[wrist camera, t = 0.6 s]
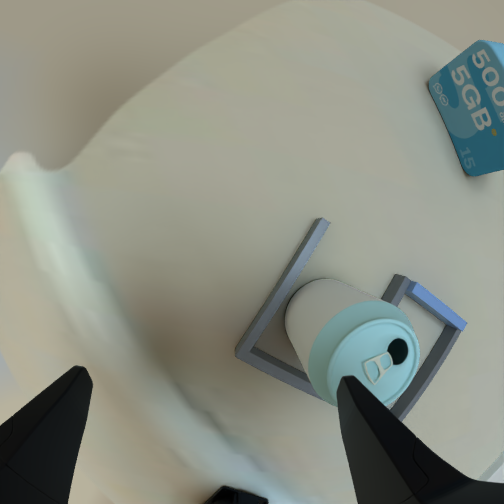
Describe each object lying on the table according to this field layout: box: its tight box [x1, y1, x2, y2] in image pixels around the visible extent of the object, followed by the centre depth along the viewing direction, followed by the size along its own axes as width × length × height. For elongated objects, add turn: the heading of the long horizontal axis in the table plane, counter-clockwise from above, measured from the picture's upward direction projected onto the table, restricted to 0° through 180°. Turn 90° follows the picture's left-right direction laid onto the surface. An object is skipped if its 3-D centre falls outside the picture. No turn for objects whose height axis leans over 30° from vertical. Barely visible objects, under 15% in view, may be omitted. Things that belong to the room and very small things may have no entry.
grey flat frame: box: [235, 218, 467, 422], centre depth 25 cm, size 14×20×3 cm
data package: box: [429, 40, 504, 176], centre depth 20 cm, size 12×4×12 cm, turn 21°
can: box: [285, 279, 420, 407], centre depth 20 cm, size 7×7×12 cm
